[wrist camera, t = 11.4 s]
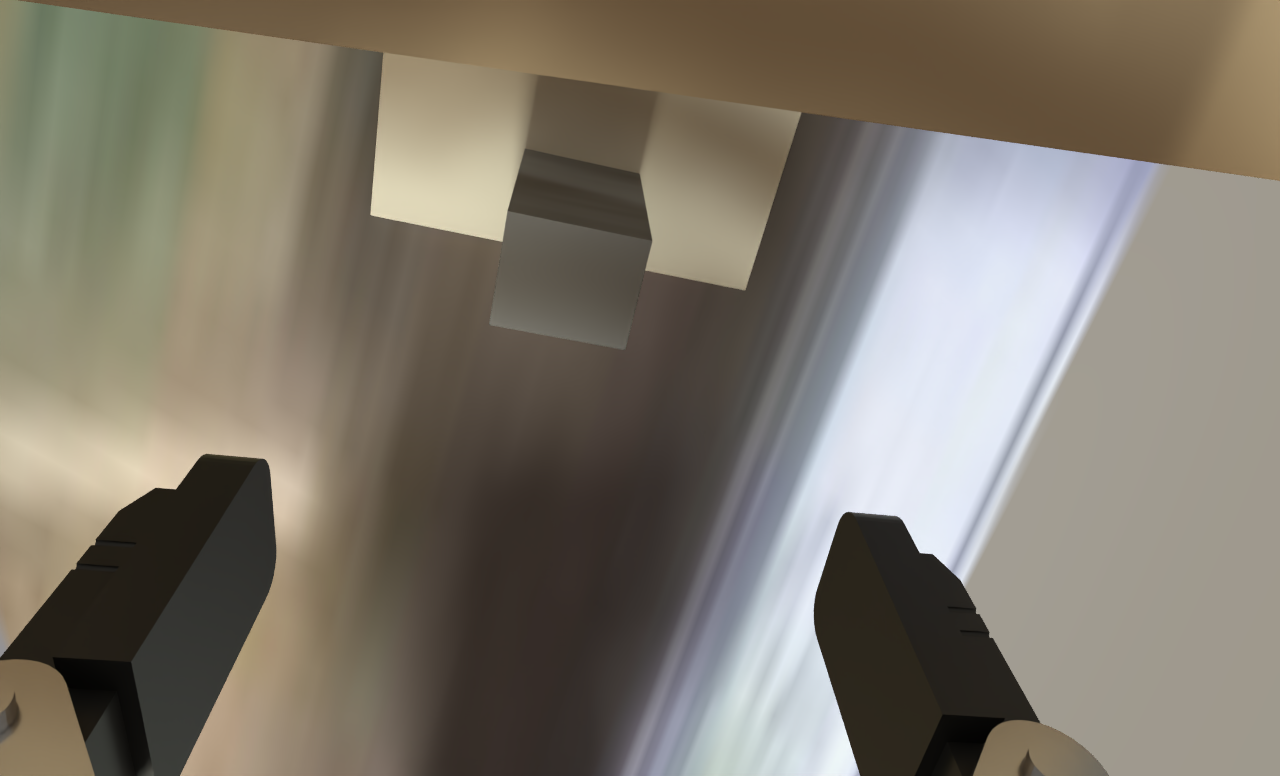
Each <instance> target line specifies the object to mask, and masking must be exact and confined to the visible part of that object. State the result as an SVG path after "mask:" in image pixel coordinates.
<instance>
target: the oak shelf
mask: <svg viewBox="0 0 1280 776" xmlns="http://www.w3.org/2000/svg"><path fill="white" fill-rule="evenodd" d="M20 1H27V2H34V3H41V4H48V5H55V6H62V7H69V8H76V9H83V10H90V11H97V12H104V13H111V14H118V15H125V16H132V17H139V18H146V19H153V20H160V21H167V22H174V23H181V24H188V25H195V26H202V27H209V28H216V29H223V30H230V31H237V32H244V33H251V34H258V35H265V36H272V37H279V38H286V39H293V40H300V41H307V42H314V43H321V44H328V45H335V46H342V47H349V48H356V49H363V50H370V51H377V52H384V53H391V54H398V55H405V56H412V57H419V58H425V59H432V60H439V61H446V62H453V63H460V64H467V65H474V66H481V67H488V68H495V69H502V70H509V71H516V72H523V73H530V74H537V75H544V76H551V77H558V78H565V79H572V80H579V81H586V82H593V83H600V84H607V85H614V86H621V87H628V88H635V89H642V90H649V91H656V92H663V93H670V94H677V95H684V96H691V97H698V98H705V99H712V100H719V101H726V102H733V103H740V104H747V105H754V106H761V107H768V108H775V109H782V110H789V111H796V112H803V113H810V114H817V115H824V116H831V117H838V118H845V119H852V120H859V121H866V122H873V123H880V124H887V125H894V126H901V127H908V128H915V129H922V130H929V131H936V132H943V133H950V134H957V135H964V136H971V137H978V138H985V139H992V140H999V141H1006V142H1013V143H1020V144H1027V145H1034V146H1041V147H1048V148H1055V149H1062V150H1068V151H1075V152H1082V153H1089V154H1096V155H1103V156H1110V157H1117V158H1124V159H1131V160H1138V161H1145V162H1152V163H1159V164H1166V165H1173V166H1180V167H1187V168H1194V169H1201V170H1208V171H1216V172H1223V173H1229V174H1236V175H1244V176H1251V177H1257V178H1264V179H1271V180H1278V181H1280V0H20Z"/></svg>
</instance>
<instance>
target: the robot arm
mask: <svg viewBox="0 0 1280 776" xmlns="http://www.w3.org/2000/svg"><path fill="white" fill-rule="evenodd" d="M275 563H276V539H275V526H274V514H273V501H272V489H271V477H270V469H269V465H268V463H267V461H266V460H265V459H258V458H247V457H236V456H224V455H213V454H205V455H203V456H201V457H200V458H199V459H198V461H197V462H196V463H195V465H194V466H193V467H192V469H191V470H190V471H189V473H188V474H187V475H186V477H185V478H184V479H183V481H182V482H181V484H180V485H179V486H178V488H177V489H176V490H175V489H163V488H155V489H153V490H152V491H150V492H148V493H147V494H145V495H144V496H142V497H140V498H139V499H137V500H136V501H134V502H133V503H131V504H129V505H128V506H126V507H125V508H123V509H121V510H120V511H119V512H118V513H117V514H116V515H115V517H114V518H113V519H112V520H111V521H110V523H109V524H108V525H107V526H106V528H105V529H104V530H103V531H102V533H101V534H100V535H99V536H98V538H97V539H96V543H95V545H91V546H90V547H89V549H88V550H87V551H86V552H85V554H84V555H83V556H82V557H81V559H80V560H79V561H78V562H77V567H76V569H75V570H71V571H70V572H69V573H68V575H67V576H66V577H65V578H64V580H63V581H62V582H61V583H60V584H59V586H58V587H57V588H56V589H55V591H54V592H53V593H52V594H51V596H50V597H49V598H48V599H47V601H46V602H45V603H44V604H43V605H42V607H41V608H40V609H39V610H38V612H37V613H36V614H35V615H34V617H33V618H32V619H31V620H30V622H29V623H28V624H27V625H26V626H25V628H24V629H23V630H22V631H21V633H20V634H19V635H18V636H17V638H16V639H15V640H14V641H13V643H12V644H11V645H10V646H9V647H8V649H7V650H6V651H5V652H4V654H3V655H2V656H1V657H0V776H180V774H181V772H182V770H183V768H184V766H185V764H186V762H187V760H188V758H189V756H190V754H191V752H192V749H193V747H194V745H195V743H196V741H197V739H198V737H199V735H200V733H201V731H202V729H203V727H204V725H205V723H206V721H207V719H208V717H209V715H210V712H211V710H212V708H213V706H214V704H215V702H216V700H217V698H218V696H219V694H220V692H221V690H222V688H223V686H224V684H225V682H226V680H227V677H228V675H229V673H230V671H231V669H232V667H233V665H234V663H235V661H236V659H237V657H238V655H239V653H240V651H241V649H242V647H243V645H244V642H245V640H246V638H247V636H248V634H249V632H250V630H251V628H252V626H253V624H254V622H255V620H256V618H257V616H258V614H259V612H260V610H261V607H262V605H263V603H264V601H265V599H266V597H267V595H268V593H269V590H270V587H271V583H272V580H273V576H274V570H275ZM814 625H815V632H816V636H817V640H818V643H819V646H820V649H821V652H822V656H823V659H824V662H825V665H826V668H827V671H828V675H829V678H830V681H831V684H832V687H833V691H834V694H835V697H836V700H837V703H838V706H839V710H840V713H841V716H842V719H843V722H844V725H845V729H846V732H847V735H848V738H849V741H850V745H851V748H852V751H853V754H854V757H855V760H856V764H857V767H858V770H859V773H860V776H1109V775H1108V773H1107V772H1106V770H1105V769H1104V768H1103V766H1102V765H1101V764H1100V763H1099V762H1098V760H1097V759H1096V758H1095V757H1094V756H1093V755H1092V754H1091V753H1090V752H1089V751H1088V750H1086V749H1085V748H1084V747H1083V746H1082V745H1080V744H1079V743H1078V742H1076V741H1075V740H1074V739H1072V738H1070V737H1069V736H1067V735H1065V734H1064V733H1062V732H1060V731H1058V730H1056V729H1054V728H1052V727H1049V726H1046V725H1043V724H1041V723H1040V721H1039V720H1038V718H1037V716H1036V714H1035V712H1034V711H1033V709H1032V707H1031V705H1030V704H1029V702H1028V700H1027V698H1026V696H1025V695H1024V693H1023V691H1022V689H1021V688H1020V686H1019V684H1018V682H1017V681H1016V679H1015V677H1014V675H1013V673H1012V672H1011V670H1010V668H1009V666H1008V664H1007V663H1006V661H1005V659H1004V657H1003V655H1002V654H1001V652H1000V650H999V649H998V647H997V645H996V643H995V641H994V639H993V638H989V631H988V629H987V627H986V625H985V623H984V622H983V620H982V618H981V617H980V615H979V614H976V607H975V606H974V604H973V602H972V600H971V598H970V597H969V595H968V593H967V591H966V590H965V588H964V586H963V584H962V582H961V581H960V579H958V578H957V577H956V576H955V575H954V574H953V573H952V572H951V571H950V570H949V569H948V568H947V567H946V566H945V565H944V564H942V563H941V562H940V561H939V560H938V559H937V558H936V557H935V556H934V555H933V554H923V553H919V551H918V549H917V547H916V545H915V544H914V542H913V540H912V538H911V536H910V534H909V532H908V530H907V528H906V526H905V524H904V523H903V521H902V520H901V519H900V518H899V517H897V516H887V515H876V514H865V513H853V512H846V513H845V514H843V516H842V517H841V519H840V521H839V523H838V526H837V529H836V532H835V535H834V538H833V541H832V545H831V548H830V551H829V554H828V557H827V560H826V563H825V566H824V570H823V573H822V576H821V579H820V582H819V585H818V588H817V592H816V596H815V603H814Z"/></svg>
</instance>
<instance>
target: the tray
mask: <svg viewBox="0 0 1280 776" xmlns="http://www.w3.org/2000/svg"><path fill="white" fill-rule="evenodd" d="M800 115H801V112H796V111H789V110H782V109H775V108H768V107H761V106H754V105H747V104H740V103H733V102H726V101H719V100H712V99H705V98H698V97H691V96H684V95H677V94H670V93H663V92H656V91H649V90H642V89H635V88H628V87H621V86H614V85H607V84H600V83H593V82H586V81H579V80H572V79H565V78H558V77H551V76H544V75H537V74H530V73H523V72H516V71H509V70H502V69H495V68H488V67H481V66H474V65H467V64H460V63H453V62H446V61H439V60H432V59H425V58H419V57H412V56H405V55H398V54H391V53H383V66H382V78H381V91H380V103H379V116H378V128H377V141H376V153H375V166H374V178H373V191H372V203H371V215H372V216H377V217H382V218H387V219H392V220H397V221H402V222H407V223H412V224H417V225H422V226H427V227H432V228H437V229H442V230H447V231H452V232H457V233H462V234H467V235H472V236H477V237H482V238H487V239H492V240H497V241H502V248H501V254H500V260H499V267H498V273H497V279H496V285H495V291H494V298H493V304H492V310H491V316H490V323H489V325H492V326H498V327H503V328H509V329H514V330H519V331H525V332H530V333H536V334H541V335H546V336H552V337H557V338H563V339H568V340H573V341H579V342H584V343H590V344H595V345H600V346H606V347H611V348H617V349H622V350H625V349H626V345H627V341H628V337H629V333H630V329H631V325H632V321H633V317H634V313H635V309H636V305H637V301H638V297H639V293H640V289H641V285H642V281H643V277H644V273H645V270H646V271H651V272H656V273H661V274H666V275H671V276H676V277H681V278H686V279H691V280H696V281H701V282H706V283H711V284H716V285H721V286H726V287H731V288H736V289H741V290H745V289H746V286H747V283H748V280H749V277H750V274H751V270H752V267H753V264H754V261H755V258H756V255H757V251H758V248H759V245H760V242H761V239H762V236H763V232H764V229H765V226H766V223H767V220H768V217H769V213H770V210H771V207H772V204H773V201H774V198H775V194H776V191H777V188H778V185H779V182H780V179H781V175H782V172H783V169H784V166H785V163H786V160H787V156H788V153H789V150H790V147H791V144H792V140H793V137H794V134H795V131H796V128H797V125H798V121H799V118H800Z"/></svg>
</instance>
